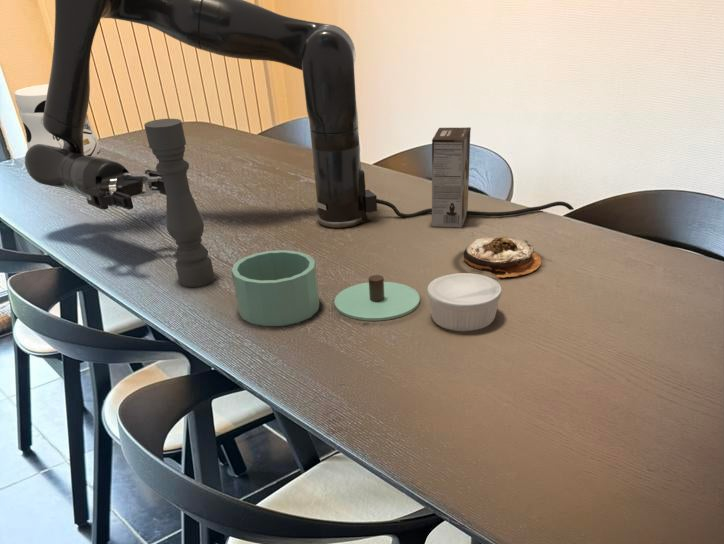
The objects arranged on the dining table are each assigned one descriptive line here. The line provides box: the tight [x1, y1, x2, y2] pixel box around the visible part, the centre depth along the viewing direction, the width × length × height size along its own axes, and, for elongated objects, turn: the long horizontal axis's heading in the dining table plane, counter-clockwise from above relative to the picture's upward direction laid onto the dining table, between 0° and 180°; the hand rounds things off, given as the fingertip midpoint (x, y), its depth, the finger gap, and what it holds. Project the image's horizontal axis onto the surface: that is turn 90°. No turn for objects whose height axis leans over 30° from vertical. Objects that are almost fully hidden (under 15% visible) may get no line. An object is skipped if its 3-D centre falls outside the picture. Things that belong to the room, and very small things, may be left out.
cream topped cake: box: [463, 236, 542, 279], centre depth 125 cm, size 15×15×4 cm
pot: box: [230, 249, 321, 327], centre depth 112 cm, size 13×13×8 cm
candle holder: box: [143, 118, 216, 288], centre depth 117 cm, size 6×6×25 cm
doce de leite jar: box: [13, 83, 102, 158], centre depth 179 cm, size 17×17×18 cm
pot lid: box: [333, 274, 421, 322], centre depth 113 cm, size 14×14×5 cm
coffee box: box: [431, 127, 472, 228], centre depth 139 cm, size 9×6×16 cm
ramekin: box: [426, 272, 503, 332], centre depth 108 cm, size 11×11×5 cm
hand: (152, 196), depth 121 cm, fingers open, 8 cm apart
